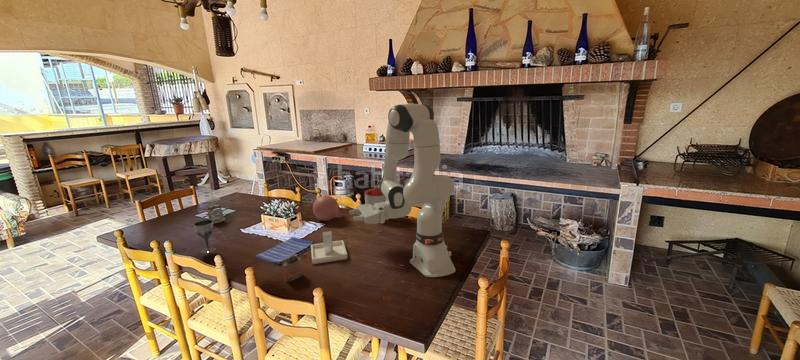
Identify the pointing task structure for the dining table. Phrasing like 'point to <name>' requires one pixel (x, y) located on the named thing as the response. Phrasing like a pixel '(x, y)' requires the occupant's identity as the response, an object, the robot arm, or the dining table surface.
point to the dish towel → (285, 250)
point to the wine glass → (205, 233)
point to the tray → (320, 256)
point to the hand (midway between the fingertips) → (351, 215)
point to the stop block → (328, 242)
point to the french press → (217, 215)
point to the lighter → (292, 268)
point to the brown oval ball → (325, 208)
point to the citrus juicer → (374, 196)
